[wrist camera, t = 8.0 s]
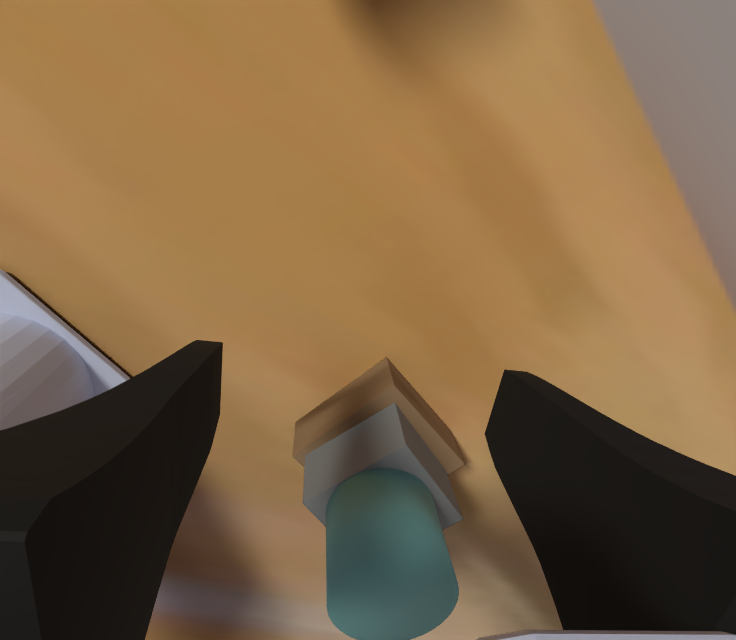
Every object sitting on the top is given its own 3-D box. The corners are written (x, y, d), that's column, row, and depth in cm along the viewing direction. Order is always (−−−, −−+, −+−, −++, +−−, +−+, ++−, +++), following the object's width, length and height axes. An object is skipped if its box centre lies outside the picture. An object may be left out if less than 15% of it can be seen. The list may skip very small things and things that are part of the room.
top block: (362, 517, 24) (367, 569, 21) (305, 455, 22) (302, 503, 19) (446, 471, 23) (463, 519, 20) (394, 402, 21) (405, 444, 18)
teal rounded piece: (369, 565, 21) (379, 659, 17) (303, 508, 19) (298, 599, 15) (453, 513, 20) (482, 600, 16) (392, 449, 18) (409, 530, 15)
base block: (364, 483, 27) (369, 525, 24) (295, 418, 24) (292, 456, 22) (449, 427, 26) (464, 464, 23) (385, 354, 23) (394, 385, 21)
